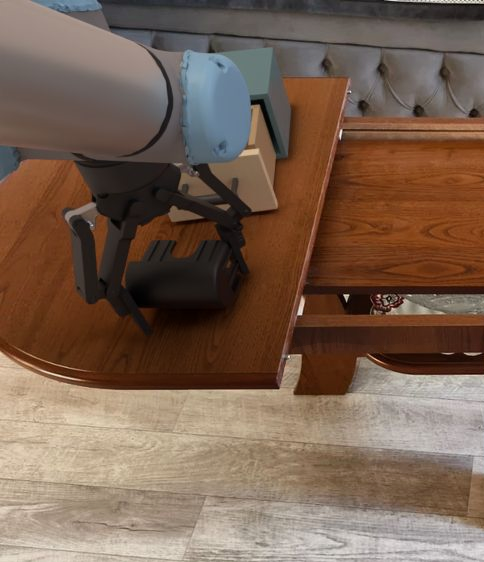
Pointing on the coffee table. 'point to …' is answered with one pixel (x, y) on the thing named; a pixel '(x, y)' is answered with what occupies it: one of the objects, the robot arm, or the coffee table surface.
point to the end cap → (184, 277)
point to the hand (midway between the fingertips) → (194, 297)
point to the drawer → (238, 175)
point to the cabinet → (266, 92)
